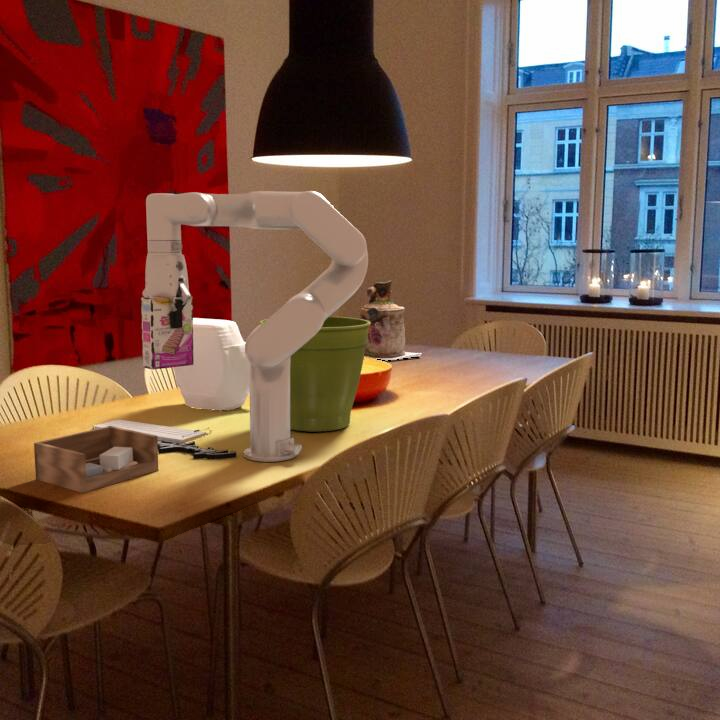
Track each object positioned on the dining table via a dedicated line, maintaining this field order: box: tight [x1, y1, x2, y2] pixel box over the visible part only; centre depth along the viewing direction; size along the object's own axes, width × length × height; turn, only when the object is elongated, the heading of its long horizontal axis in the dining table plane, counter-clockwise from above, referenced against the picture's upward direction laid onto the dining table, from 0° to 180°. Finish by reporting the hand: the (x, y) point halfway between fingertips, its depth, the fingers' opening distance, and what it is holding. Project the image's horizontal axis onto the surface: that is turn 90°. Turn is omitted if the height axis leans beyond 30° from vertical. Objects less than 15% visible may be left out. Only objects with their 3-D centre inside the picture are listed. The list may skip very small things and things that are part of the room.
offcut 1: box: [86, 463, 103, 478], centre depth 181 cm, size 4×4×4 cm
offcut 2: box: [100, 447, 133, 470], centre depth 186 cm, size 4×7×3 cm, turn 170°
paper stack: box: [172, 317, 250, 411], centre depth 256 cm, size 21×27×26 cm
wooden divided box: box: [33, 426, 159, 494], centre depth 187 cm, size 16×20×8 cm
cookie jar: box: [359, 280, 422, 362], centre depth 356 cm, size 25×25×32 cm
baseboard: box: [92, 418, 213, 443], centre depth 228 cm, size 31×3×12 cm
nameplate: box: [157, 439, 237, 460], centre depth 208 cm, size 27×2×10 cm
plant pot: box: [259, 316, 370, 433], centre depth 233 cm, size 30×30×29 cm
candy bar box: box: [140, 296, 194, 371], centre depth 199 cm, size 11×5×16 cm, turn 134°
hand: (167, 326), depth 199 cm, fingers closed on candy bar box, 5 cm apart
